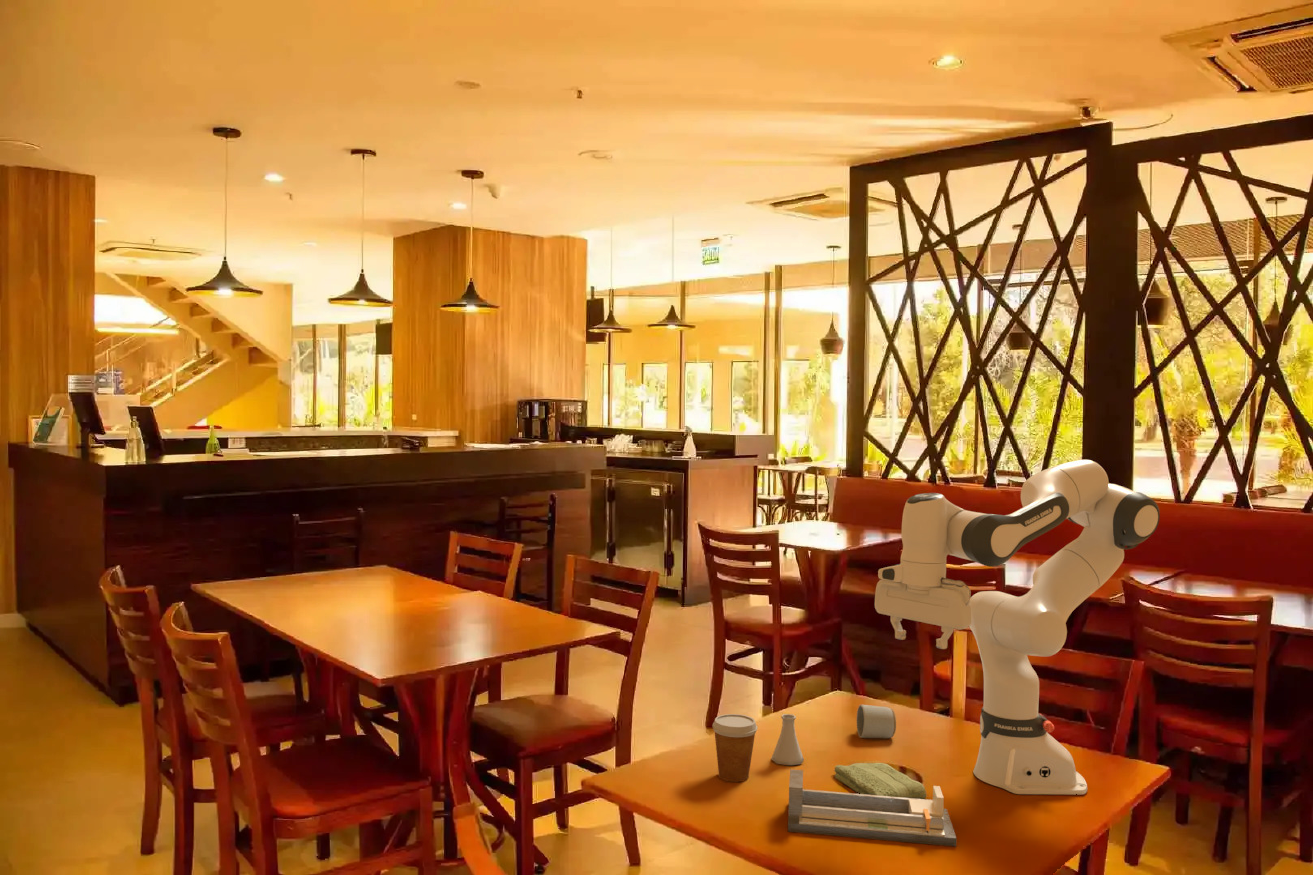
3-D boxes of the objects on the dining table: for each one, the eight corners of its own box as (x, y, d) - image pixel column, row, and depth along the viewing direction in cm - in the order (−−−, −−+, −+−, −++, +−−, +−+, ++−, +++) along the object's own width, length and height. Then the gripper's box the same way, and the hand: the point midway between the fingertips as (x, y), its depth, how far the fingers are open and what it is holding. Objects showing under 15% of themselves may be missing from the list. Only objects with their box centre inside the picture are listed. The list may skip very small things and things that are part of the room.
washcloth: (881, 770, 210) (882, 755, 210) (930, 801, 193) (931, 785, 193) (829, 776, 205) (829, 761, 205) (874, 809, 189) (875, 793, 189)
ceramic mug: (897, 742, 226) (898, 710, 226) (863, 742, 226) (863, 709, 226) (884, 728, 237) (885, 697, 237) (851, 728, 236) (852, 697, 236)
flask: (805, 766, 209) (807, 721, 209) (772, 766, 210) (773, 720, 209) (801, 755, 217) (802, 711, 216) (769, 754, 217) (770, 710, 217)
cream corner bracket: (938, 813, 182) (939, 785, 182) (945, 836, 172) (946, 806, 172) (908, 811, 183) (909, 783, 183) (913, 833, 173) (914, 803, 173)
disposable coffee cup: (753, 768, 208) (754, 713, 208) (759, 785, 198) (760, 728, 198) (709, 767, 208) (710, 712, 207) (713, 784, 198) (714, 727, 198)
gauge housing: (946, 816, 185) (947, 777, 185) (956, 846, 172) (957, 805, 172) (789, 802, 190) (790, 765, 190) (787, 831, 177) (788, 791, 177)
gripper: (978, 580, 186) (976, 651, 186) (889, 566, 201) (887, 631, 201) (961, 584, 182) (959, 656, 182) (871, 569, 197) (869, 636, 197)
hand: (920, 643), depth 192 cm, fingers open, 8 cm apart
